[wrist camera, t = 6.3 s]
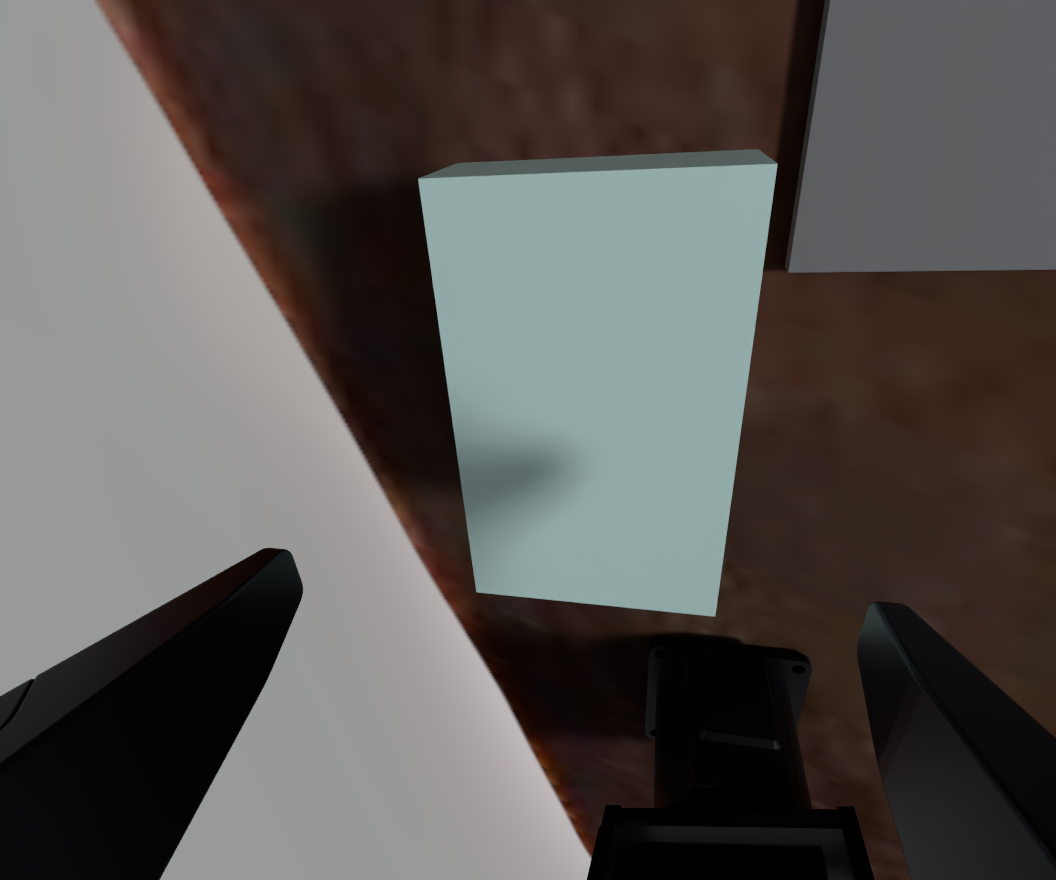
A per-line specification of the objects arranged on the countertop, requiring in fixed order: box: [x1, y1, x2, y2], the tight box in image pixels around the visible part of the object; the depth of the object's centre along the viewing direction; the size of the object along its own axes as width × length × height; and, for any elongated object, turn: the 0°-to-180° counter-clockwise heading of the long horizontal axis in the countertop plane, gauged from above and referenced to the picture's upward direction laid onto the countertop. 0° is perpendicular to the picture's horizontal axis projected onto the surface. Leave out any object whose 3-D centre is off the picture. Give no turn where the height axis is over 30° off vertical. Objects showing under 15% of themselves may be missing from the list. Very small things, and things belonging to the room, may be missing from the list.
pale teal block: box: [418, 149, 777, 616], centre depth 15 cm, size 11×7×3 cm, turn 4°
